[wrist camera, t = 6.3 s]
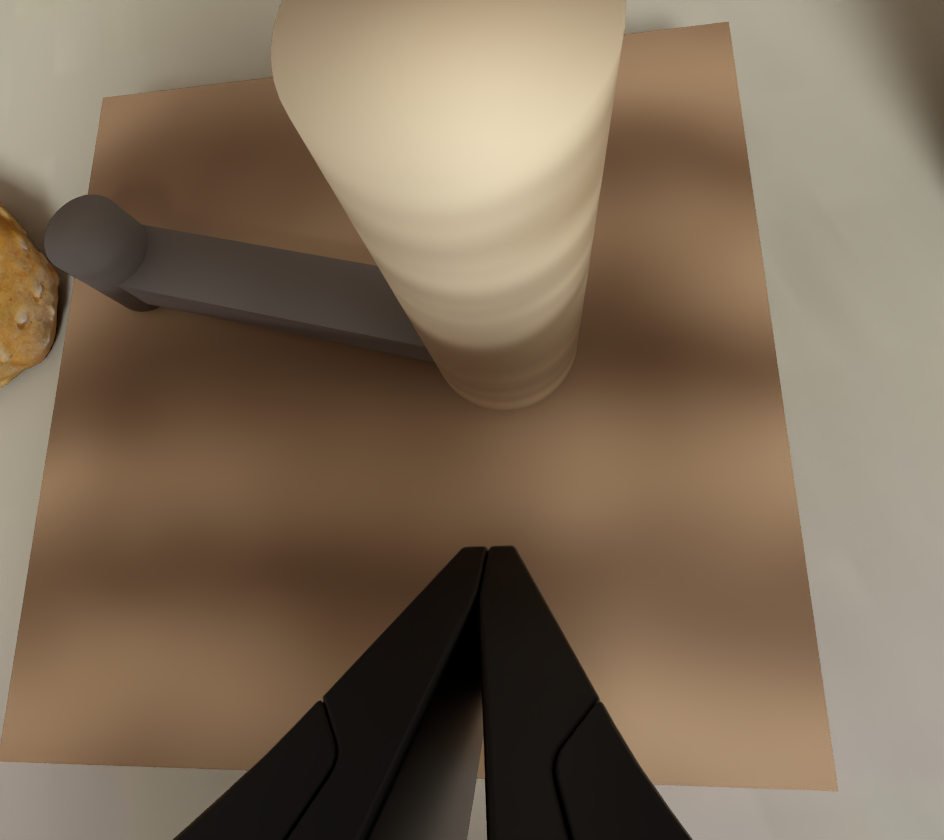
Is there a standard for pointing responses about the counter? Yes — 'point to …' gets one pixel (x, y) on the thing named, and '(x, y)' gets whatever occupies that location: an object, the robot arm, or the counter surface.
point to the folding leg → (411, 191)
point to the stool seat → (424, 463)
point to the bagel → (24, 301)
